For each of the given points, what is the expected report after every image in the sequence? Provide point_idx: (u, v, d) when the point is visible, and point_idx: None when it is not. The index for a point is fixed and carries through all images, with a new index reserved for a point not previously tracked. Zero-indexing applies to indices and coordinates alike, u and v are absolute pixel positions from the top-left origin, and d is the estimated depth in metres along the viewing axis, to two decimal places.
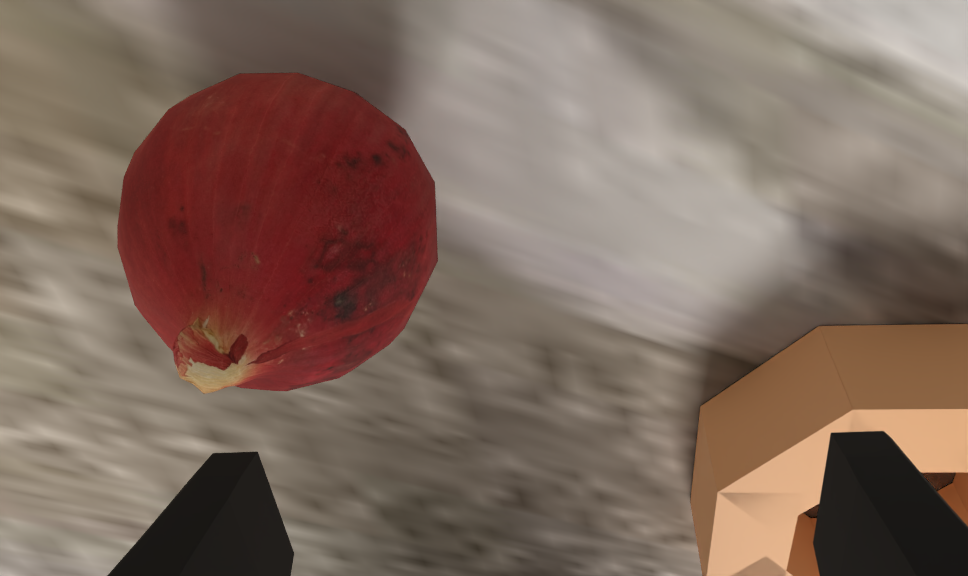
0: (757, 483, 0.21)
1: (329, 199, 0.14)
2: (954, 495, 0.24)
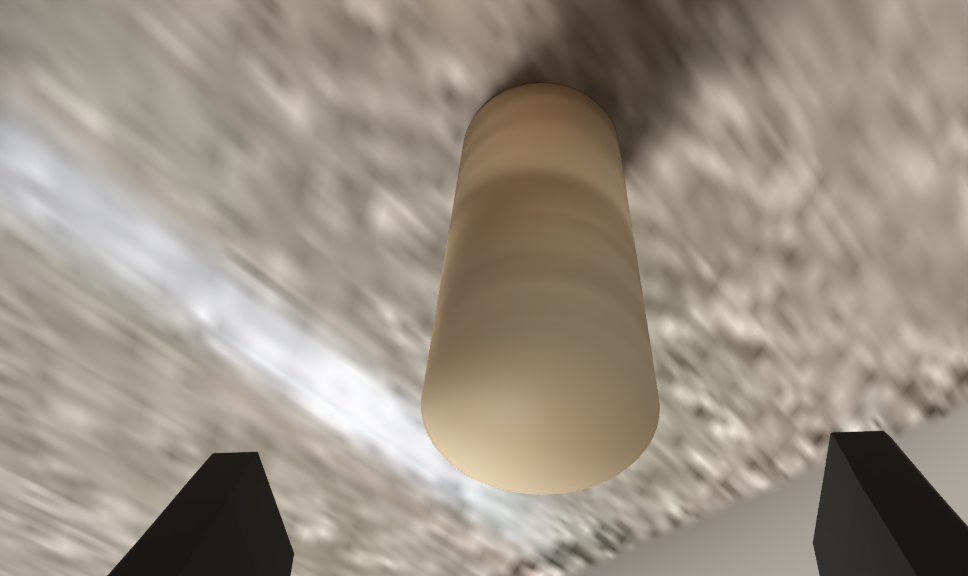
0: None
1: None
2: None
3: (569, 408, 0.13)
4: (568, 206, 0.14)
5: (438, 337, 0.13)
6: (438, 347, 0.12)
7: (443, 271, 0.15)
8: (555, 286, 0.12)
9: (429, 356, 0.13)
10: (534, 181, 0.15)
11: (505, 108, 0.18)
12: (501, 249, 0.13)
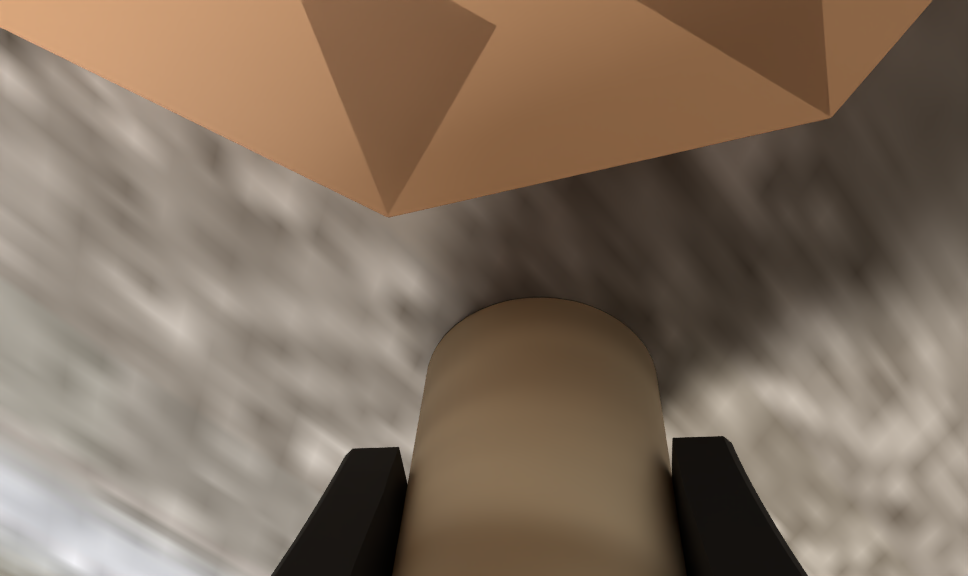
0: None
1: None
2: None
3: None
4: None
5: None
6: None
7: None
8: None
9: None
10: (529, 551, 0.09)
11: (485, 348, 0.11)
12: None
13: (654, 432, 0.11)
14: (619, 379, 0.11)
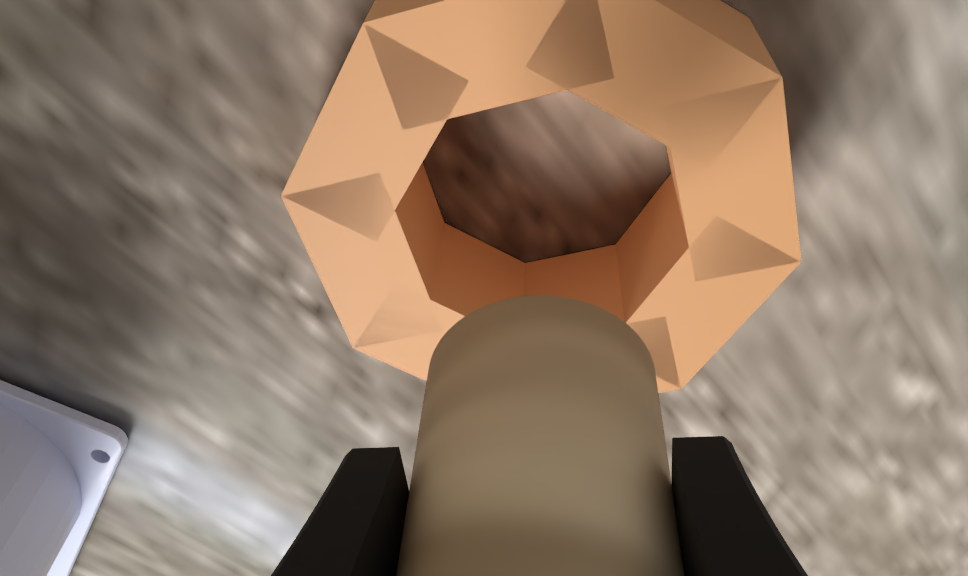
0: (420, 33, 0.15)
1: None
2: (612, 254, 0.20)
3: None
4: None
5: None
6: None
7: None
8: None
9: None
10: (529, 553, 0.09)
11: (487, 347, 0.12)
12: None
13: (652, 429, 0.11)
14: (618, 377, 0.11)
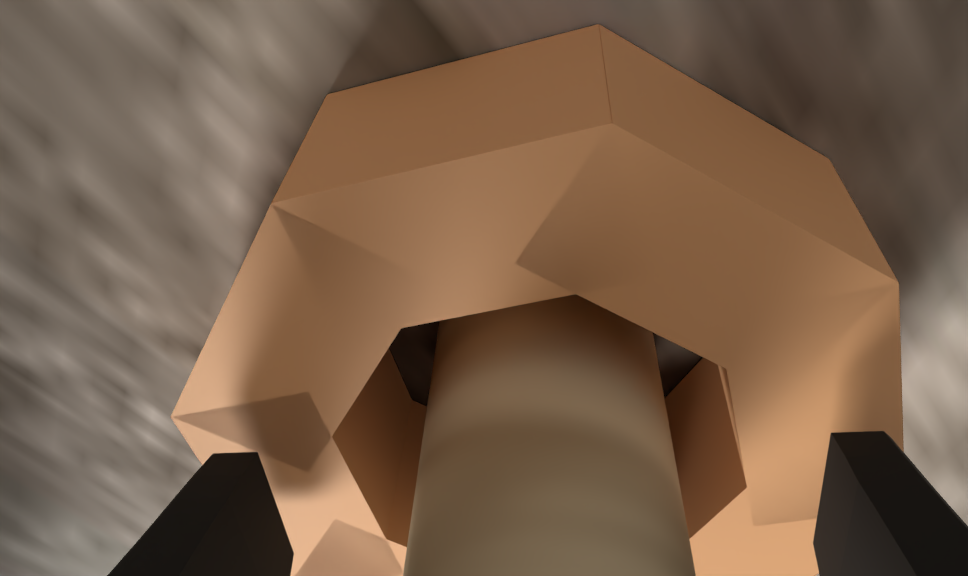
0: (357, 217, 0.10)
1: None
2: None
3: None
4: (592, 493, 0.09)
5: None
6: None
7: (404, 575, 0.10)
8: None
9: None
10: (539, 441, 0.10)
11: None
12: None
13: (647, 354, 0.12)
14: None
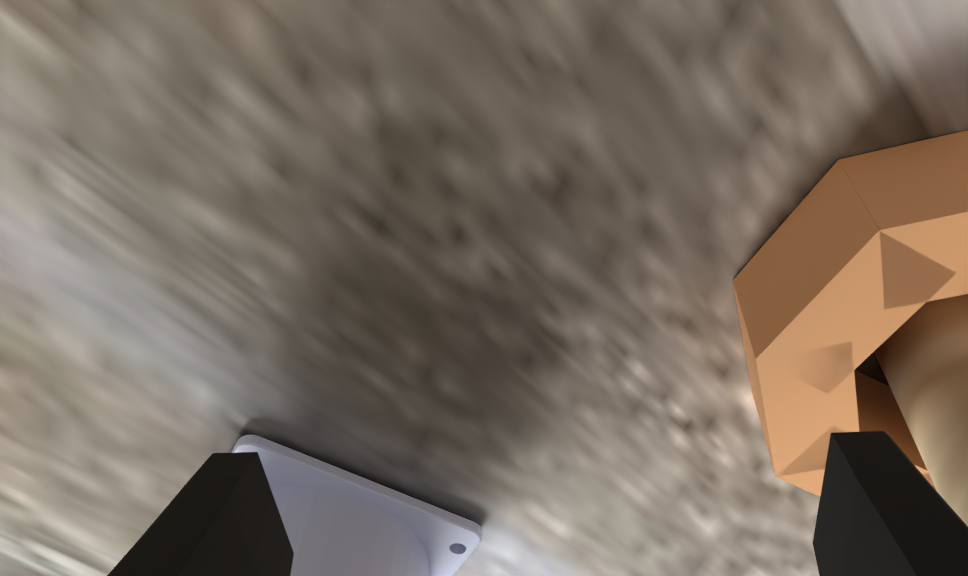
0: (927, 237, 0.17)
1: None
2: None
3: None
4: None
5: None
6: None
7: (945, 440, 0.17)
8: None
9: None
10: None
11: None
12: None
13: None
14: None
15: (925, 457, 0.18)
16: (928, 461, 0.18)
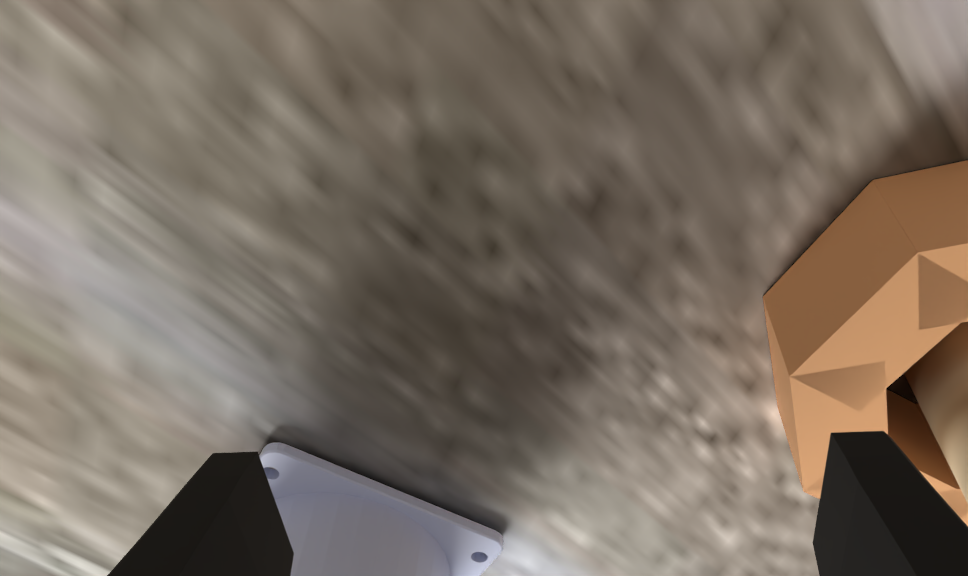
0: (964, 260, 0.17)
1: None
2: None
3: None
4: None
5: None
6: None
7: None
8: None
9: None
10: None
11: None
12: None
13: None
14: None
15: (961, 480, 0.19)
16: (964, 484, 0.18)
